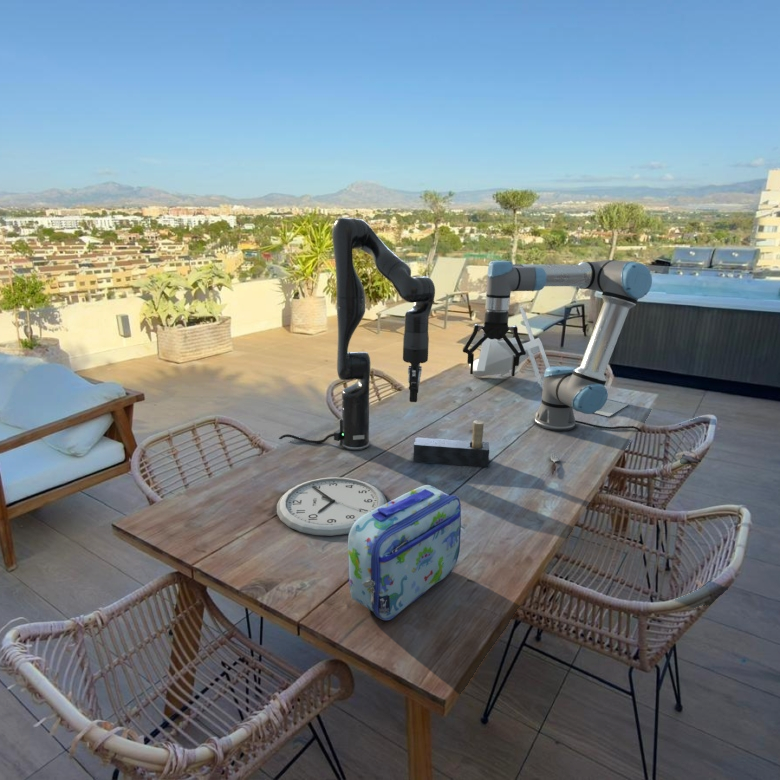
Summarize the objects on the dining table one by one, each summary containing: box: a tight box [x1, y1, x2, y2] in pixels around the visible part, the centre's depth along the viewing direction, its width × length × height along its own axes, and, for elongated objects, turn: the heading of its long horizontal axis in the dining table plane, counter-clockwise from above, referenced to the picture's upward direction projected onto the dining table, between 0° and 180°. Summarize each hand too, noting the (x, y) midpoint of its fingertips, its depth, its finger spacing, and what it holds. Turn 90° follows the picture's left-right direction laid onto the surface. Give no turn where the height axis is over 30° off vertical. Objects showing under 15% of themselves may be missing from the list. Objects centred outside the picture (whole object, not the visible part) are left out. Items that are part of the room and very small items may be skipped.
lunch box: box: [347, 484, 462, 621], centre depth 107 cm, size 26×11×21 cm, turn 134°
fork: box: [550, 450, 560, 475], centre depth 169 cm, size 3×16×2 cm, turn 160°
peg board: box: [413, 437, 490, 468], centre depth 171 cm, size 24×6×6 cm, turn 82°
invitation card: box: [594, 399, 629, 418], centre depth 226 cm, size 21×1×15 cm
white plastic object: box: [468, 306, 551, 390], centre depth 259 cm, size 37×45×31 cm
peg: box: [471, 419, 485, 448], centre depth 169 cm, size 3×3×14 cm
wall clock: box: [276, 476, 388, 537], centre depth 142 cm, size 30×2×30 cm
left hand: (414, 397), depth 160 cm, fingers open, 8 cm apart
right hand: (491, 374), depth 174 cm, fingers open, 13 cm apart
